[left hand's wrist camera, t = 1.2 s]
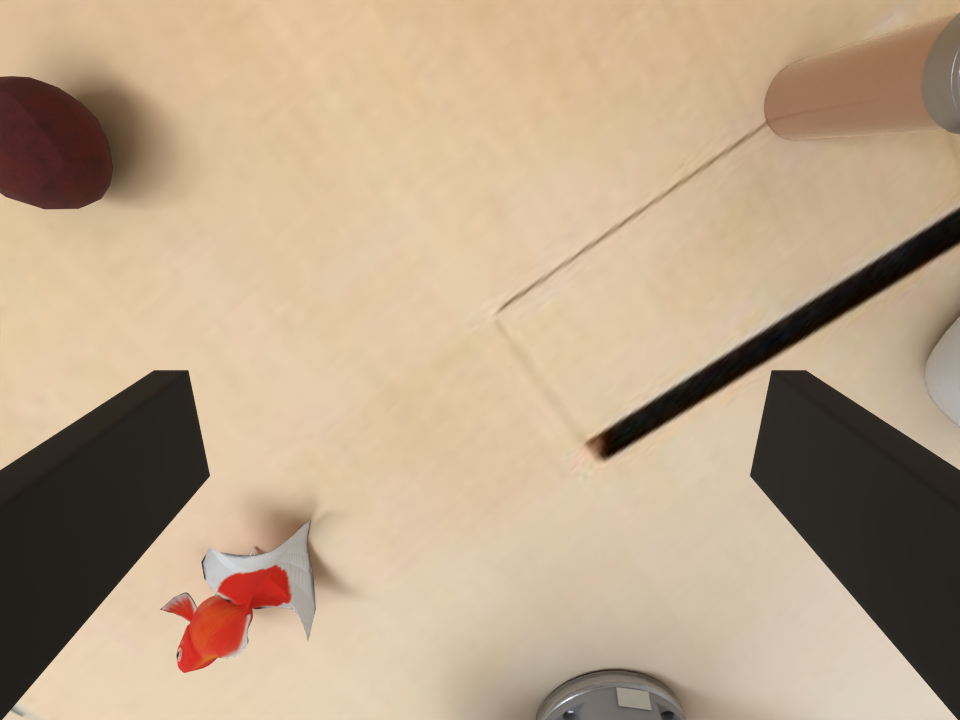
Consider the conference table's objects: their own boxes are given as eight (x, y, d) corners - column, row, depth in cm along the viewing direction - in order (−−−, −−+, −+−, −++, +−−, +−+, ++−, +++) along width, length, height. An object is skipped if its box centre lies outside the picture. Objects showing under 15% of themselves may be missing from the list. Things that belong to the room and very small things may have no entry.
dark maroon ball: (73, 60, 34) (-24, 37, 28) (161, 167, 37) (91, 169, 30) (-2, 130, 36) (-112, 123, 29) (87, 229, 38) (4, 243, 31)
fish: (104, 586, 43) (102, 691, 36) (269, 461, 47) (299, 532, 39) (196, 638, 50) (212, 736, 42) (335, 525, 53) (372, 596, 46)
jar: (853, 83, 35) (1112, 31, 21) (805, 153, 36) (1015, 149, 22) (796, 44, 34) (1023, -39, 20) (749, 117, 36) (929, 88, 21)
